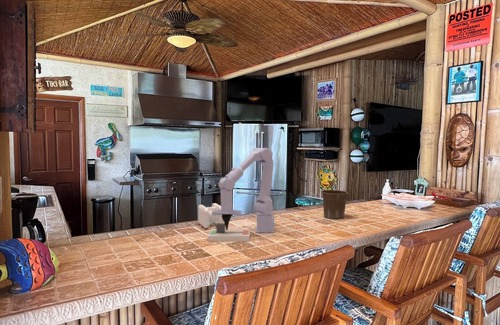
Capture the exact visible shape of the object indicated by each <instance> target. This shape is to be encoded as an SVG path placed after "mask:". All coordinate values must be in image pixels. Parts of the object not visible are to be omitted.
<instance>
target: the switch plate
mask: <svg viewBox="0 0 500 325" xmlns="http://www.w3.org/2000/svg"><path fill="white" fill-rule="evenodd" d="M250 237H251V229H250V228H248V229H247V228H228V230H226V228H225V233H216V228H211V229H210V230H209V232H208V234H207V242H250V239H251V238H250Z"/></svg>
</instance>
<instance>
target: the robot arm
mask: <svg viewBox="0 0 500 325" xmlns="http://www.w3.org/2000/svg"><path fill="white" fill-rule="evenodd" d="M273 159H274V158H273V152H272V151H271V149H270V148H269V147H254V148H253V149H252V150H251V151H250V152H249V154H248V155H247V156H246V157H245V159H244V160H243V161H242V162H241V164H240V165H239V166H234V167H232V168H231V170H230V171H229V173H227V174H226V175H225V177H222V178H220V180H219V182H218V183H217V185H218V188H220V206H221V210H217V211H212V215H222V222H223V223H225V229H226V230H228V229H229V224H230V221H231V219H232V216H242V214H243V213H242V210H237V209H233V189H234V188H235V185H236V183H237V182H238V181H239V180H240V179H241V178H242V177H243V176H244V172H245V170H246V169H248V168H249V167H250V166H251V165H252V164H253V163H254V162H259V163H260V165H261V166H262V172H261V179H260V180H261V181H260V189H259V194H258V196H257V197H256V199H255V202H254V205H253V209H254V211H255V214H256V227H255V233H275V228H276V227H275V215H274V214H272V213H273V211H274V206H273V200H272V198H271V190H272V189H271V188H272V180H273V172H274V171H273V170H274V160H273Z"/></svg>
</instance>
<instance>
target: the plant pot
mask: <svg viewBox="0 0 500 325" xmlns="http://www.w3.org/2000/svg"><path fill="white" fill-rule="evenodd" d="M348 195H349V192H348V191H345V190H340V189H339V190H336V189H324V190H321V198H322V206H323V217H325V218H327V219H330V220H337V219H338V220H343V219H344V218H345V211H346V205H347V204H346V202H347V199H348Z"/></svg>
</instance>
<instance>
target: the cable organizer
mask: <svg viewBox="0 0 500 325" xmlns="http://www.w3.org/2000/svg"><path fill="white" fill-rule="evenodd" d="M197 206H198V208H197V209H198V211H197V212H198V214H197V215H198V223H199V224H200V226H202V227H203V228H204V229H208V228H209V227H210V226H211V224H214V225H217V223H223V219H222V215H212V211H217V210H221V204H218V203H216V202H215V203H211V206H210V207H209V206H207V207H206V206H205V205H204V204H198V205H197Z"/></svg>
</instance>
